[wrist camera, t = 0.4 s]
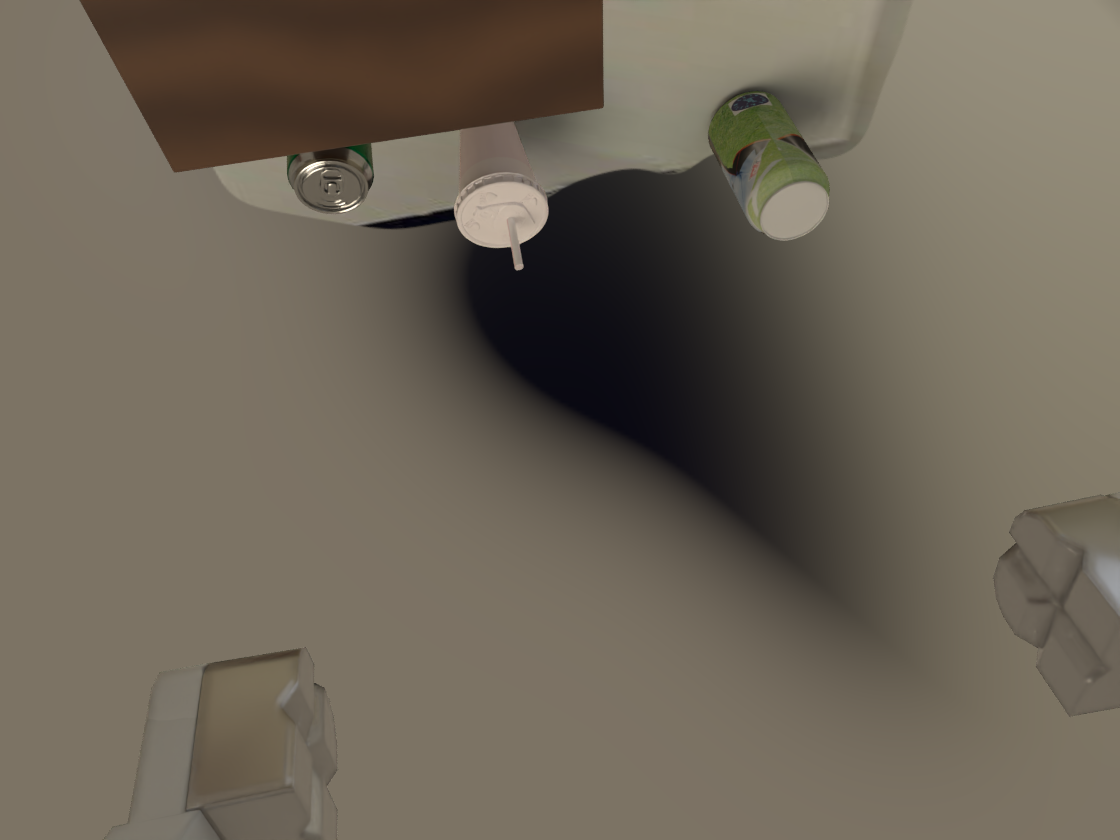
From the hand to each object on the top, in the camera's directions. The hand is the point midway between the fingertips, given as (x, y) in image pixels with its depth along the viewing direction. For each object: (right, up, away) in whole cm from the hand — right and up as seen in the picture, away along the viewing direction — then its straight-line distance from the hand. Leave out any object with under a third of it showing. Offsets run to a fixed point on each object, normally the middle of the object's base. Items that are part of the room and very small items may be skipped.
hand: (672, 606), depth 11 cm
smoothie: (-7, +24, +58) cm, 63 cm away
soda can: (-17, +26, +51) cm, 60 cm away
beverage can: (+13, +26, +61) cm, 67 cm away
